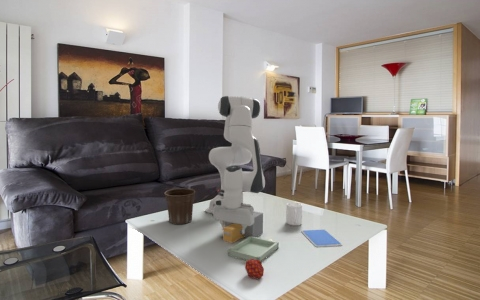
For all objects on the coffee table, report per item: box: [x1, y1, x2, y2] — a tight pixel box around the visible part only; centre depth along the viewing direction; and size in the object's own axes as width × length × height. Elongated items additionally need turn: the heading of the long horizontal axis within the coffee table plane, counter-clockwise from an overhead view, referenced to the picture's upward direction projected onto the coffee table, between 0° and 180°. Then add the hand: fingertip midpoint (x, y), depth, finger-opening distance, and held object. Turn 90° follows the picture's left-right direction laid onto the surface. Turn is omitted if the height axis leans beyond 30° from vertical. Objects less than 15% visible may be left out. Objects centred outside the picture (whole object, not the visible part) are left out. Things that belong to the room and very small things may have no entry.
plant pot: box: [164, 188, 196, 225], centre depth 173 cm, size 16×16×16 cm
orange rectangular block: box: [222, 223, 244, 244], centre depth 150 cm, size 5×13×6 cm, turn 142°
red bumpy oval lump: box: [244, 259, 265, 279], centre depth 114 cm, size 6×7×8 cm
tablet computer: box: [301, 229, 343, 248], centre depth 150 cm, size 19×13×1 cm, turn 9°
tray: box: [227, 236, 280, 263], centre depth 134 cm, size 14×18×2 cm
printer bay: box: [224, 211, 264, 239], centre depth 156 cm, size 16×10×10 cm, turn 59°
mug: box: [285, 201, 303, 227], centre depth 169 cm, size 12×8×10 cm
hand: (233, 231), depth 147 cm, fingers open, 8 cm apart
